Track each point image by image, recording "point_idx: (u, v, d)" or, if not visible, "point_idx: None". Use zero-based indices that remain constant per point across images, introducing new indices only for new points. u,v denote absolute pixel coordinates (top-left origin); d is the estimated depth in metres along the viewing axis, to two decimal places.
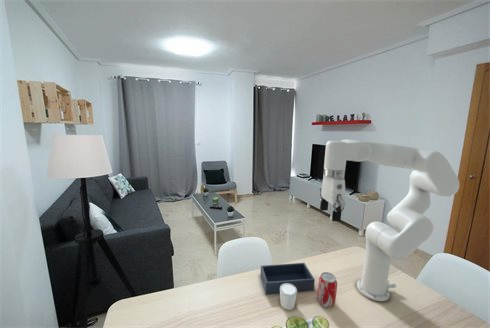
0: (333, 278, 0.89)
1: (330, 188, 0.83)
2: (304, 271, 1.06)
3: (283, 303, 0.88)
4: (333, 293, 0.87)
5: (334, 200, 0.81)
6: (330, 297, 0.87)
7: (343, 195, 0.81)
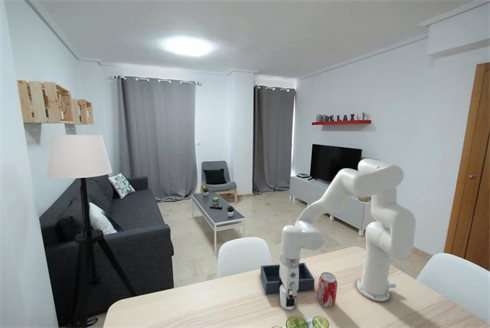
0: (333, 278, 0.89)
1: (285, 274, 0.84)
2: (304, 271, 1.06)
3: (283, 303, 0.88)
4: (333, 293, 0.87)
5: (288, 287, 0.82)
6: (330, 297, 0.87)
7: (297, 283, 0.83)
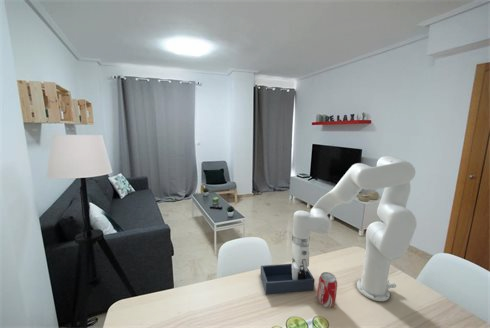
0: (333, 278, 0.89)
1: (297, 253, 0.96)
2: None
3: (295, 277, 1.00)
4: (333, 293, 0.87)
5: (300, 264, 0.95)
6: (330, 297, 0.87)
7: (307, 259, 0.95)
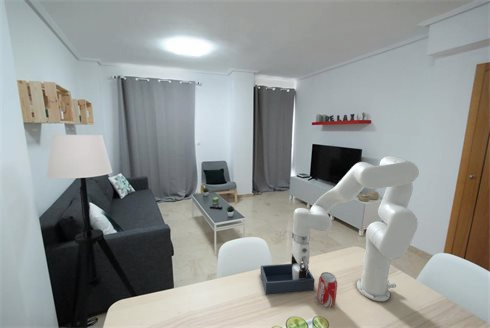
0: (333, 278, 0.89)
1: (297, 250, 0.96)
2: None
3: None
4: (333, 293, 0.87)
5: (300, 261, 0.95)
6: (330, 297, 0.87)
7: (308, 257, 0.95)
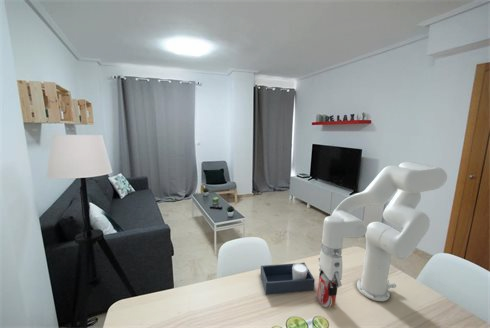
0: None
1: (328, 264, 0.85)
2: None
3: None
4: None
5: (332, 277, 0.83)
6: (330, 297, 0.87)
7: (340, 272, 0.83)
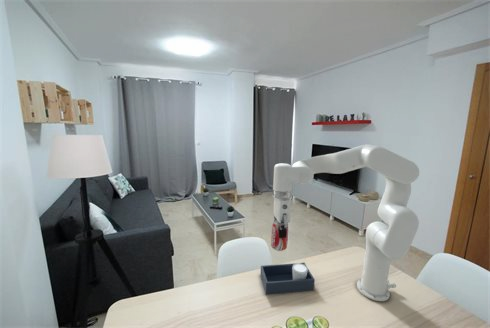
0: None
1: (277, 207, 0.90)
2: None
3: None
4: None
5: (280, 219, 0.89)
6: (281, 240, 0.92)
7: (288, 214, 0.89)
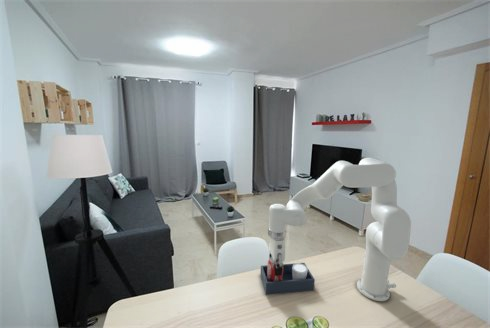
0: None
1: (272, 247, 0.94)
2: None
3: None
4: None
5: (275, 258, 0.93)
6: (276, 277, 0.97)
7: (283, 254, 0.93)
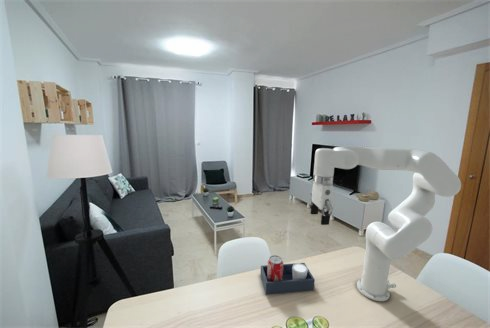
0: (280, 260, 0.98)
1: (319, 193, 0.87)
2: None
3: None
4: (278, 273, 0.96)
5: (323, 205, 0.86)
6: (276, 277, 0.97)
7: (331, 200, 0.86)
